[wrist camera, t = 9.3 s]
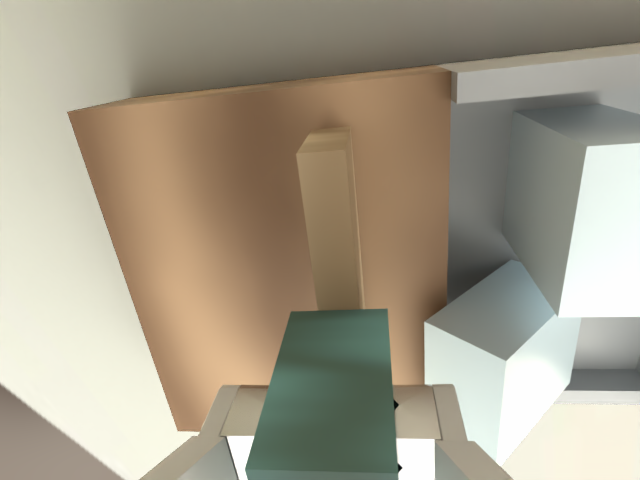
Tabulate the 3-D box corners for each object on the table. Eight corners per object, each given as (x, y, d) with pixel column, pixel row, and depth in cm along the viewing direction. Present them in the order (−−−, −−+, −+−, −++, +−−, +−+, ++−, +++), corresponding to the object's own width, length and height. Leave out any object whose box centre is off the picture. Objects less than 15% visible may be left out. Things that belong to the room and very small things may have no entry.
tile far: (424, 423, 17) (495, 473, 15) (424, 321, 15) (505, 361, 13) (502, 351, 20) (569, 382, 18) (511, 259, 18) (588, 282, 16)
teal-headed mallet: (326, 412, 18) (298, 660, 11) (286, 132, 13) (182, 247, 6) (392, 413, 18) (408, 670, 10) (377, 123, 13) (385, 236, 5)
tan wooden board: (207, 372, 24) (177, 431, 20) (129, 97, 18) (67, 111, 14) (432, 372, 22) (444, 437, 18) (434, 64, 16) (451, 70, 12)
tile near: (557, 317, 12) (672, 316, 12) (587, 146, 10) (726, 137, 10) (501, 233, 18) (578, 230, 17) (513, 110, 15) (600, 104, 15)
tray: (432, 372, 22) (447, 457, 17) (434, 64, 16) (457, 73, 11) (643, 373, 20) (719, 466, 16) (736, 31, 14) (905, 25, 10)
